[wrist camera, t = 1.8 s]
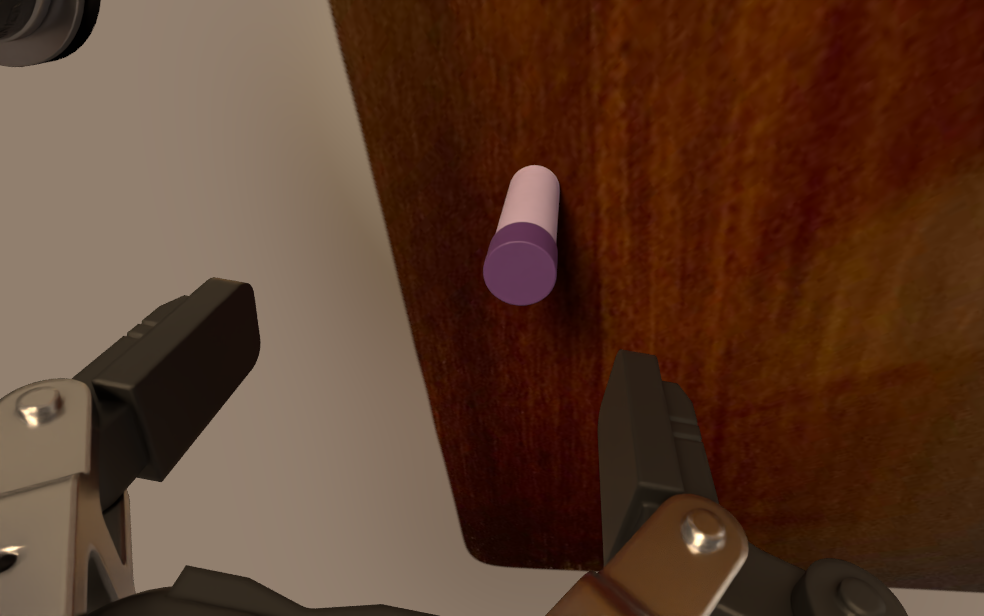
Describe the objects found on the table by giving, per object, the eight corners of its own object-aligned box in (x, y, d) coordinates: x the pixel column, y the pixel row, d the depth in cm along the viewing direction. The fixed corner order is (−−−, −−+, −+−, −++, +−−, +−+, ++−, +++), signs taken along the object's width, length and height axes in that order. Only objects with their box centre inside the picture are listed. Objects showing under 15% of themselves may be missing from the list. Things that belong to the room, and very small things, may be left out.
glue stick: (496, 185, 31) (468, 268, 22) (538, 151, 30) (524, 226, 21) (530, 224, 32) (514, 318, 23) (572, 193, 31) (571, 281, 22)
